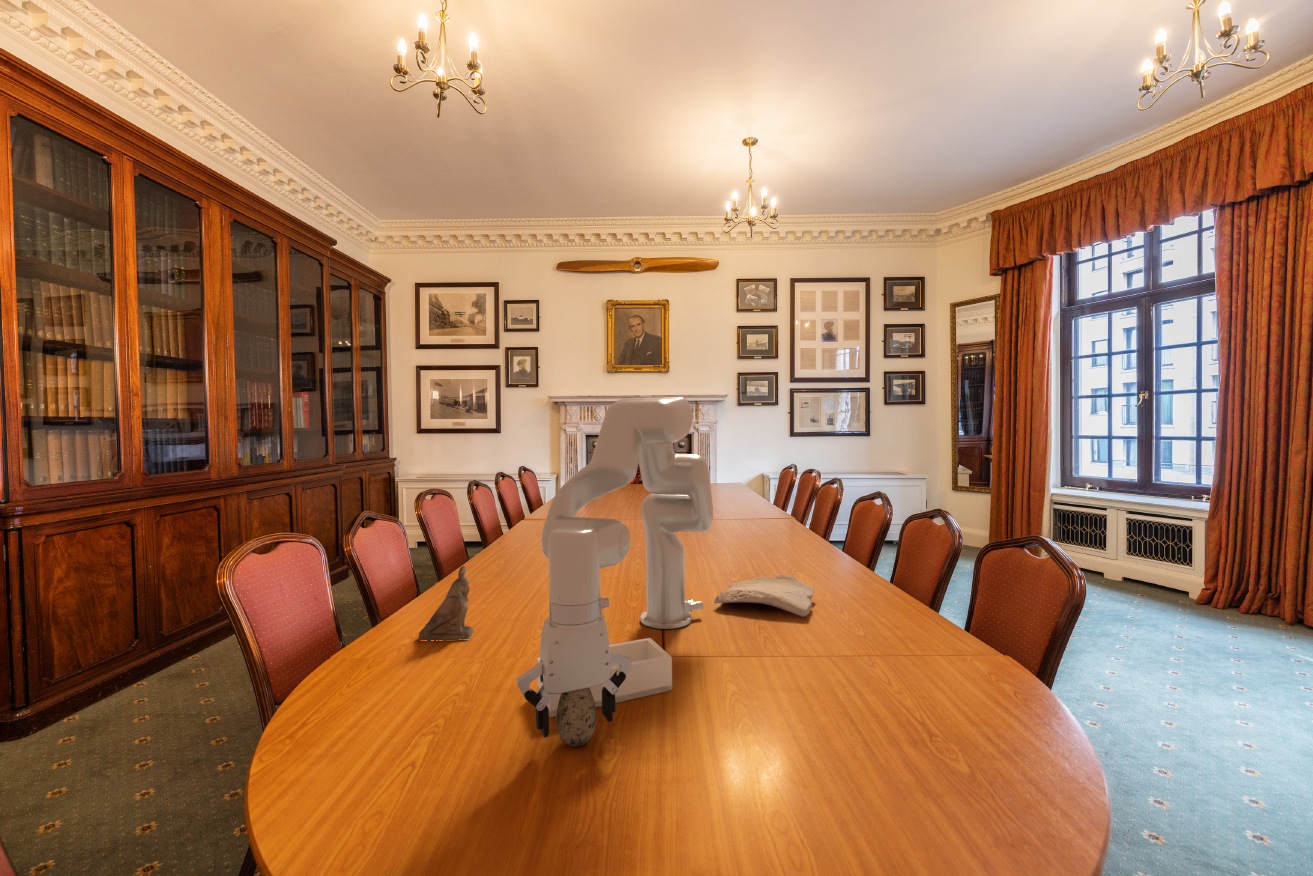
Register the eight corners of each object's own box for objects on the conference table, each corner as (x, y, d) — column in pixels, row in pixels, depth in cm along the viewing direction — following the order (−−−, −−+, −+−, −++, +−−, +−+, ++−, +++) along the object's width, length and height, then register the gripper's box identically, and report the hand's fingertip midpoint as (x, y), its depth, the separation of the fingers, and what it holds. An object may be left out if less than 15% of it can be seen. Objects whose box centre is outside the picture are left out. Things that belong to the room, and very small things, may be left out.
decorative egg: (598, 732, 83) (597, 667, 83) (595, 755, 77) (594, 685, 77) (559, 733, 83) (558, 668, 82) (553, 756, 77) (552, 687, 77)
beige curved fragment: (732, 593, 158) (711, 607, 139) (733, 567, 158) (713, 578, 140) (817, 605, 148) (807, 622, 129) (818, 578, 148) (808, 591, 130)
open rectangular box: (650, 668, 105) (649, 637, 105) (672, 690, 96) (671, 656, 96) (538, 691, 96) (537, 657, 96) (550, 717, 87) (549, 681, 87)
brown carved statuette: (474, 643, 125) (489, 568, 125) (464, 653, 120) (480, 574, 120) (425, 632, 126) (440, 557, 126) (414, 641, 120) (429, 563, 120)
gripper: (621, 595, 86) (622, 701, 87) (511, 611, 80) (513, 725, 80) (638, 609, 80) (639, 724, 80) (520, 627, 73) (521, 753, 73)
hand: (576, 724), depth 80 cm, fingers open, 9 cm apart
